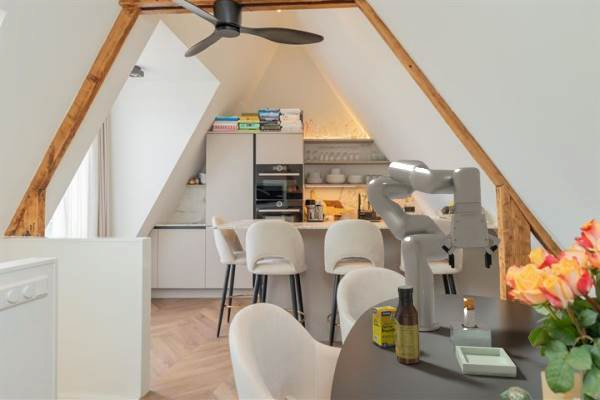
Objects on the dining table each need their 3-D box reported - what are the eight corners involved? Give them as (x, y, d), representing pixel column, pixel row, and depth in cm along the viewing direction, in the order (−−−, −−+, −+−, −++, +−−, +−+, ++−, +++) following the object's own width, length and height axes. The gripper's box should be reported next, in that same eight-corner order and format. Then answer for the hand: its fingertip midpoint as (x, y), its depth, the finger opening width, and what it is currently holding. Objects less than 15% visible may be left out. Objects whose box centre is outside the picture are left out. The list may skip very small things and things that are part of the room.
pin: (465, 348, 125) (464, 299, 125) (464, 345, 128) (462, 297, 128) (476, 348, 124) (475, 299, 125) (474, 345, 127) (473, 297, 128)
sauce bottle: (402, 355, 120) (400, 283, 120) (424, 360, 116) (422, 285, 116) (391, 362, 115) (389, 287, 115) (413, 367, 111) (411, 289, 111)
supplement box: (381, 349, 126) (380, 311, 126) (372, 343, 132) (371, 306, 132) (400, 347, 127) (399, 309, 128) (390, 341, 133) (389, 305, 133)
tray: (463, 373, 106) (462, 363, 106) (455, 354, 119) (455, 345, 119) (516, 377, 103) (516, 366, 103) (502, 357, 117) (502, 348, 117)
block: (453, 350, 123) (453, 329, 123) (450, 341, 131) (450, 321, 131) (491, 352, 121) (490, 330, 121) (485, 343, 129) (485, 323, 129)
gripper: (438, 210, 126) (440, 269, 125) (502, 208, 122) (505, 269, 121) (435, 210, 133) (437, 266, 132) (496, 208, 129) (498, 266, 129)
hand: (470, 267), depth 127 cm, fingers open, 9 cm apart
